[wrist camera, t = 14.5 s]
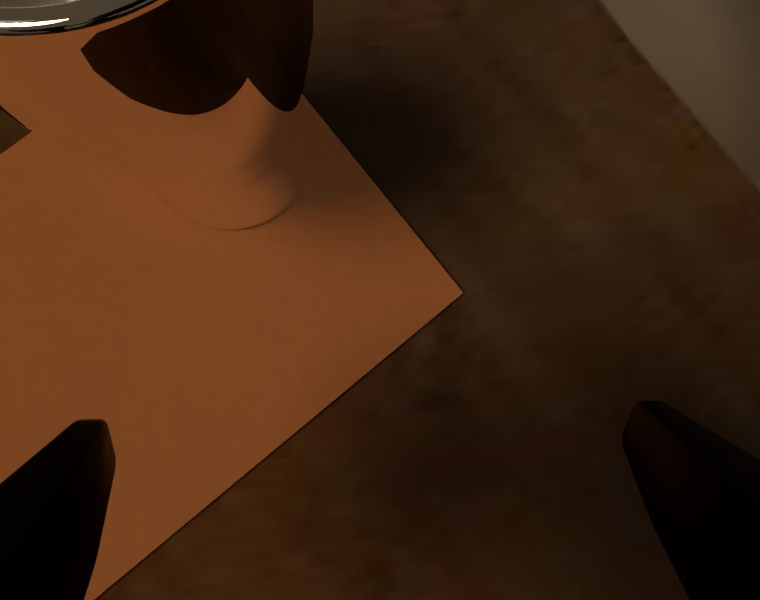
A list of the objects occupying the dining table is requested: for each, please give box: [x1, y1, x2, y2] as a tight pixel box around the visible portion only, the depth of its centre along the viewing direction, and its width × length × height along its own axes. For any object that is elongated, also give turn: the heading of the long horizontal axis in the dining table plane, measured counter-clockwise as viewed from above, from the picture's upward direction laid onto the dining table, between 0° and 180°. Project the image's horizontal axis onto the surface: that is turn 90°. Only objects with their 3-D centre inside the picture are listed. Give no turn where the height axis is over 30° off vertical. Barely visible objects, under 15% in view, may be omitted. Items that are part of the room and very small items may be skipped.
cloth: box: [0, 94, 463, 600], centre depth 21 cm, size 20×15×1 cm
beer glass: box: [0, 0, 313, 230], centre depth 14 cm, size 7×7×15 cm
